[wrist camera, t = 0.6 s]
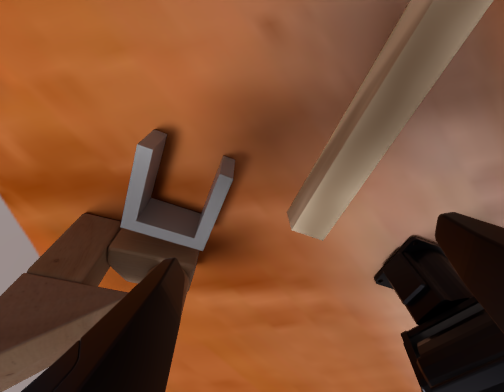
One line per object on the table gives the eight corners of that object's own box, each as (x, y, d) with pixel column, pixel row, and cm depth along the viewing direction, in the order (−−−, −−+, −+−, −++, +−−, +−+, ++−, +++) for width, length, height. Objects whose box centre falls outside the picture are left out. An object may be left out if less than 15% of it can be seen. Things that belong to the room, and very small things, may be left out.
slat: (510, -78, 14) (568, -106, 12) (314, 220, 24) (322, 240, 22) (470, -109, 14) (523, -146, 11) (286, 210, 24) (291, 230, 21)
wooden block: (83, 210, 23) (-269, 561, 7) (202, 238, 25) (128, 565, 9) (83, 241, 25) (-202, 579, 9) (194, 265, 26) (120, 579, 11)
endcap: (137, 203, 23) (120, 227, 19) (154, 129, 19) (137, 144, 16) (208, 225, 24) (202, 251, 21) (235, 159, 21) (233, 178, 18)
